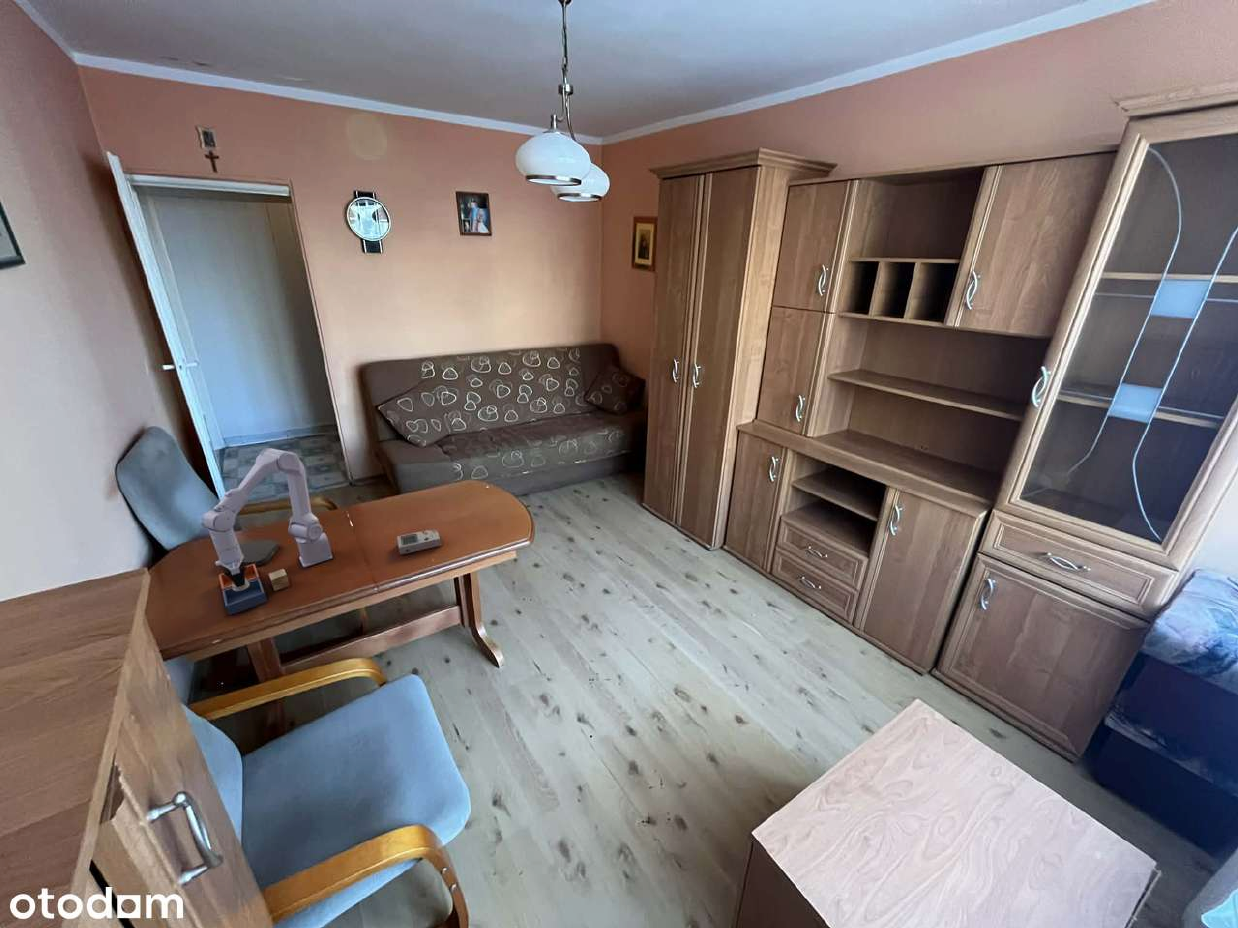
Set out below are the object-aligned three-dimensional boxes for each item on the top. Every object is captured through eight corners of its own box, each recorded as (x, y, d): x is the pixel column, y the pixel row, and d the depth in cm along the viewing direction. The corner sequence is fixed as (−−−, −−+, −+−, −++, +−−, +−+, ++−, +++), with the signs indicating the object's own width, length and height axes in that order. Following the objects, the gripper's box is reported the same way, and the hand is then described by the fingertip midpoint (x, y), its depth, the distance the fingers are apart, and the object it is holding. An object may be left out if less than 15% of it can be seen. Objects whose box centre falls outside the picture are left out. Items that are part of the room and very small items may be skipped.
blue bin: (262, 586, 170) (259, 578, 168) (267, 601, 162) (264, 592, 161) (225, 599, 163) (222, 590, 162) (229, 615, 156) (225, 606, 155)
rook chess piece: (238, 583, 163) (231, 562, 160) (253, 583, 163) (246, 562, 160) (230, 592, 159) (222, 571, 155) (244, 591, 159) (237, 570, 156)
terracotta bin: (257, 571, 177) (254, 563, 176) (262, 585, 170) (259, 576, 169) (221, 583, 171) (218, 574, 170) (225, 598, 164) (221, 589, 163)
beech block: (287, 579, 173) (284, 568, 171) (290, 585, 170) (286, 574, 168) (272, 584, 171) (268, 573, 169) (274, 591, 167) (270, 579, 166)
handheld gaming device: (441, 546, 193) (440, 538, 191) (400, 556, 187) (398, 547, 185) (438, 536, 200) (436, 527, 199) (398, 544, 194) (396, 536, 192)
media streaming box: (218, 570, 178) (216, 563, 176) (240, 548, 191) (238, 541, 190) (264, 567, 180) (261, 559, 179) (282, 545, 193) (280, 538, 192)
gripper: (208, 540, 157) (222, 576, 163) (213, 561, 147) (227, 598, 153) (236, 533, 162) (248, 568, 167) (242, 552, 152) (254, 589, 157)
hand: (240, 582), depth 160 cm, fingers closed on rook chess piece, 3 cm apart
